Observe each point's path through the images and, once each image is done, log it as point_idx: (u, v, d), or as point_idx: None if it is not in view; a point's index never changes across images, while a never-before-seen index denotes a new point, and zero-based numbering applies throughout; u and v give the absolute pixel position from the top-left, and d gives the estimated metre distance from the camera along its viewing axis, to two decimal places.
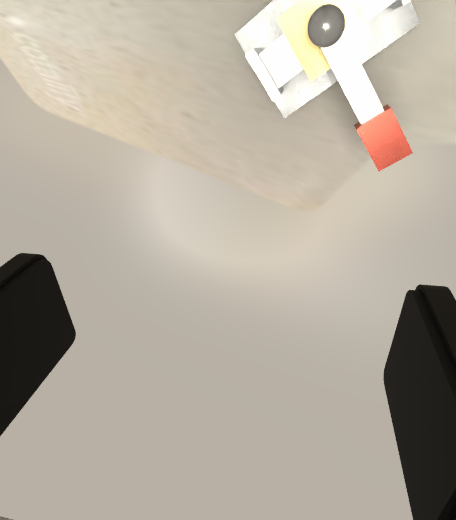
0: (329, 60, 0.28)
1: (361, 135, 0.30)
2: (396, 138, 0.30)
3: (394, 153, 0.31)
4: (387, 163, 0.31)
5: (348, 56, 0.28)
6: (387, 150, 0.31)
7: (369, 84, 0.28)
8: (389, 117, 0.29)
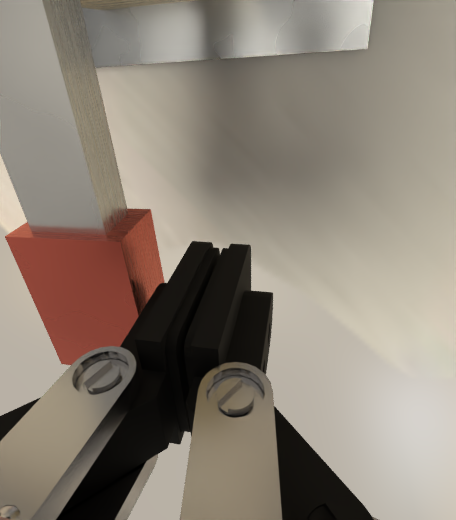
0: None
1: (20, 261, 0.09)
2: (119, 324, 0.09)
3: None
4: None
5: None
6: (90, 336, 0.10)
7: (69, 119, 0.07)
8: (109, 265, 0.08)
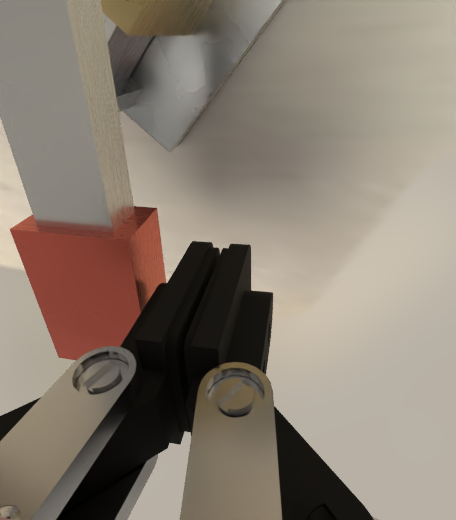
0: None
1: (24, 255, 0.09)
2: (121, 321, 0.09)
3: None
4: None
5: None
6: (90, 331, 0.10)
7: (84, 117, 0.07)
8: (115, 262, 0.08)
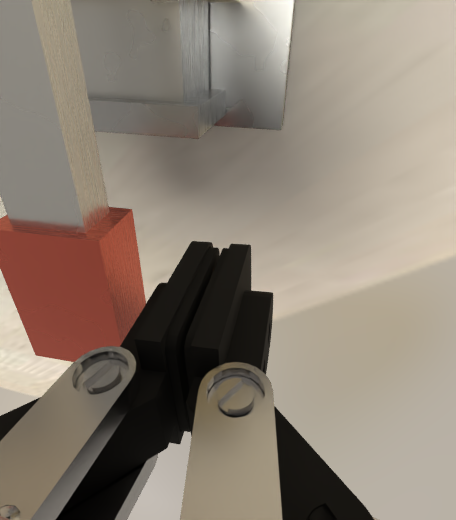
0: None
1: None
2: (95, 320, 0.09)
3: (82, 346, 0.10)
4: (60, 353, 0.11)
5: None
6: (66, 330, 0.10)
7: (53, 119, 0.07)
8: (87, 262, 0.08)
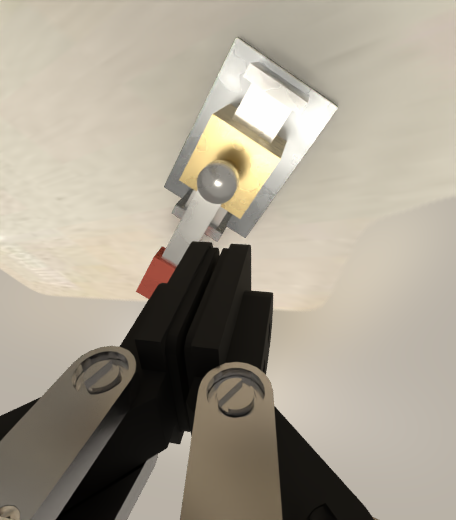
0: (192, 202, 0.26)
1: (152, 263, 0.29)
2: None
3: None
4: (146, 294, 0.31)
5: (203, 218, 0.26)
6: None
7: None
8: None
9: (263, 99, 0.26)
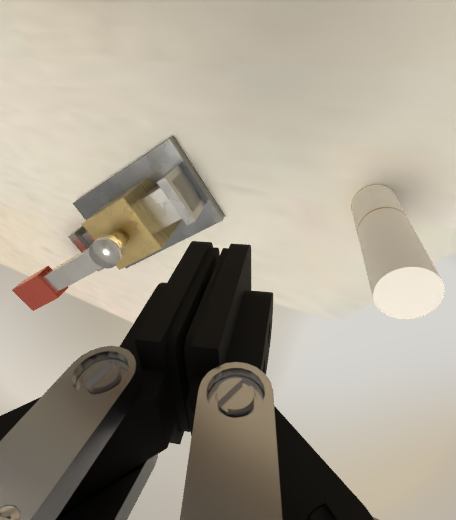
0: (81, 256, 0.32)
1: (33, 278, 0.35)
2: (39, 301, 0.36)
3: (28, 300, 0.37)
4: (19, 295, 0.37)
5: (86, 269, 0.33)
6: (29, 295, 0.36)
7: (71, 282, 0.35)
8: (51, 296, 0.36)
9: (167, 200, 0.34)
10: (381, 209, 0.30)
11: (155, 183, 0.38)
